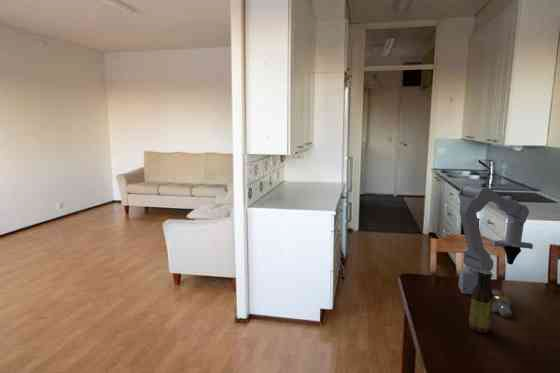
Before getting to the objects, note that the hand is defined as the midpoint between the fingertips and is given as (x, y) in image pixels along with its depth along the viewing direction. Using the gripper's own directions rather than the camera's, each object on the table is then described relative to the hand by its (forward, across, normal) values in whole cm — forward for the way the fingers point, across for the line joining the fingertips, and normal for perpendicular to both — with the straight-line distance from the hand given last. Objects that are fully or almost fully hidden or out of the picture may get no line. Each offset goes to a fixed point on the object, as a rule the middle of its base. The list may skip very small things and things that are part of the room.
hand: (509, 263), depth 158 cm
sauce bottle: (+10, -24, -39) cm, 46 cm away
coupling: (+10, -10, -20) cm, 25 cm away
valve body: (+9, -12, -22) cm, 27 cm away
